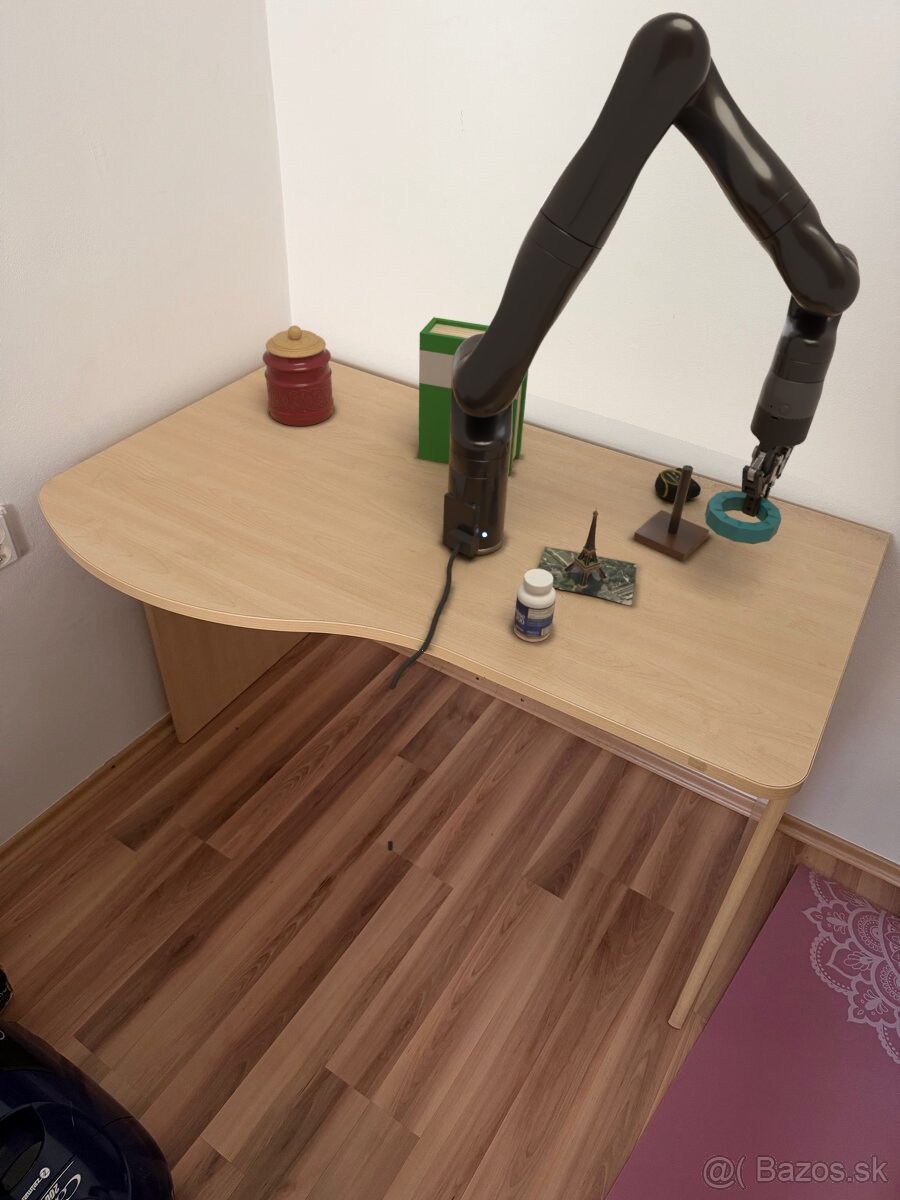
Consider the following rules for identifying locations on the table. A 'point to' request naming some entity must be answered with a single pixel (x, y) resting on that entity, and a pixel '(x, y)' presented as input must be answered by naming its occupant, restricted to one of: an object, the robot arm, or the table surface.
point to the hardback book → (436, 388)
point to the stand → (673, 526)
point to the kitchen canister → (298, 378)
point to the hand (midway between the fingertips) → (752, 510)
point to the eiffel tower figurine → (590, 571)
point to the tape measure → (674, 485)
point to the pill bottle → (535, 606)
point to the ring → (740, 529)
